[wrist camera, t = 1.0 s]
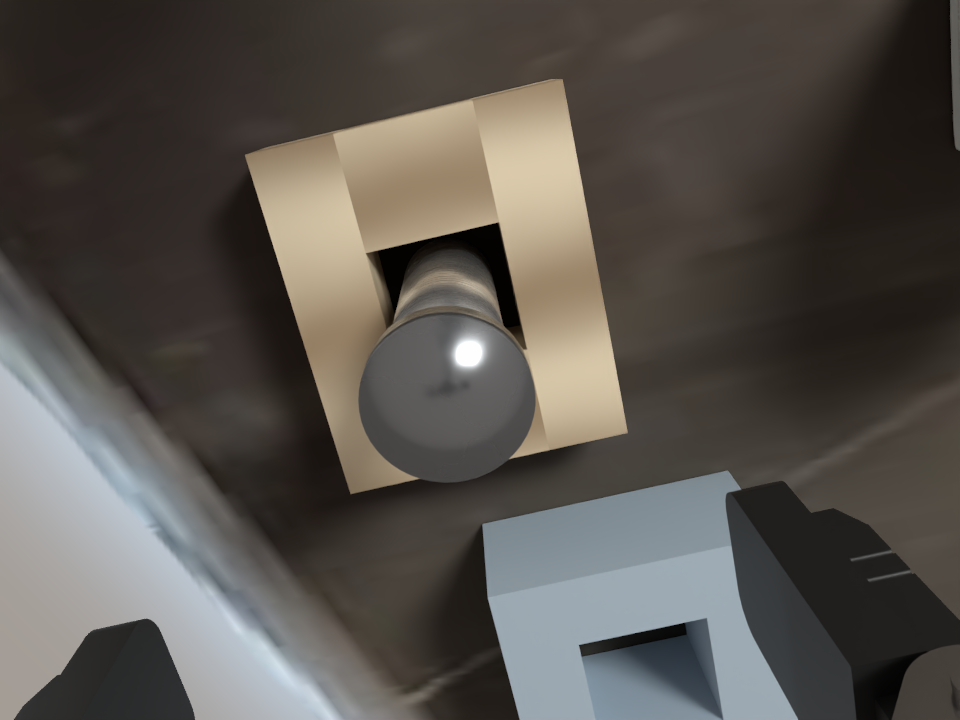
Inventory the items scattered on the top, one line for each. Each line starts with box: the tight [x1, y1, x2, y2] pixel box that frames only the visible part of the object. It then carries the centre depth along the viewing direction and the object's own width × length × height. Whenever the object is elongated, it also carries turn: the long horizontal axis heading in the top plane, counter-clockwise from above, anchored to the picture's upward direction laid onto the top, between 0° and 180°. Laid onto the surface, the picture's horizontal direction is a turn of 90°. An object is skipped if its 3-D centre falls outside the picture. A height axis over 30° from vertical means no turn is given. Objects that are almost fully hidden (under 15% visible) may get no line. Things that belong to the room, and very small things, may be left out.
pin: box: [358, 238, 536, 483], centre depth 24 cm, size 4×4×12 cm
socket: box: [482, 471, 798, 720], centre depth 32 cm, size 10×10×5 cm
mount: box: [245, 79, 628, 494], centre depth 29 cm, size 12×10×3 cm
